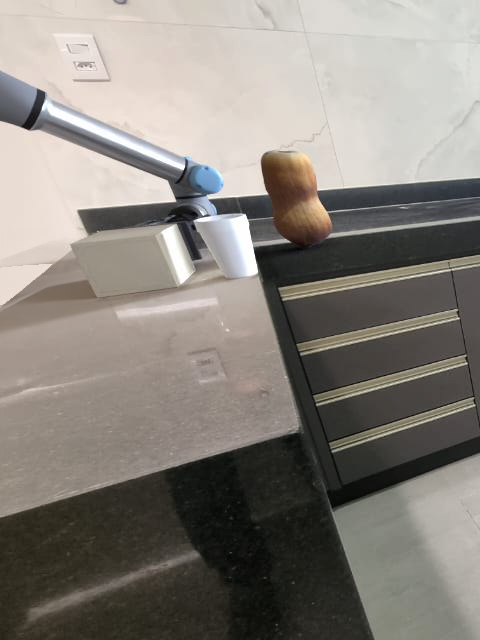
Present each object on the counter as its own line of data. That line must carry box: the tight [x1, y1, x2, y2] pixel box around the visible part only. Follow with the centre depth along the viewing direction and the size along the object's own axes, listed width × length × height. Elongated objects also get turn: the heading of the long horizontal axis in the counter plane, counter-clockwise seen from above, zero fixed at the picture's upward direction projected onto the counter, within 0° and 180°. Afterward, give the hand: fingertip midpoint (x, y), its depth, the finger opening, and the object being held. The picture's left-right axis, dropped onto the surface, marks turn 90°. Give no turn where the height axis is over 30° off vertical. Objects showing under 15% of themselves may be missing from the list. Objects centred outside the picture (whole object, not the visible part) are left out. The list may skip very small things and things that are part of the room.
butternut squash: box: [260, 149, 333, 250], centre depth 141 cm, size 14×13×25 cm
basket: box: [120, 221, 203, 263], centre depth 127 cm, size 20×13×9 cm, turn 25°
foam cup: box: [193, 213, 258, 280], centre depth 119 cm, size 10×9×13 cm
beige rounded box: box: [69, 224, 197, 299], centre depth 116 cm, size 15×14×11 cm
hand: (162, 232), depth 131 cm, fingers closed on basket, 9 cm apart
